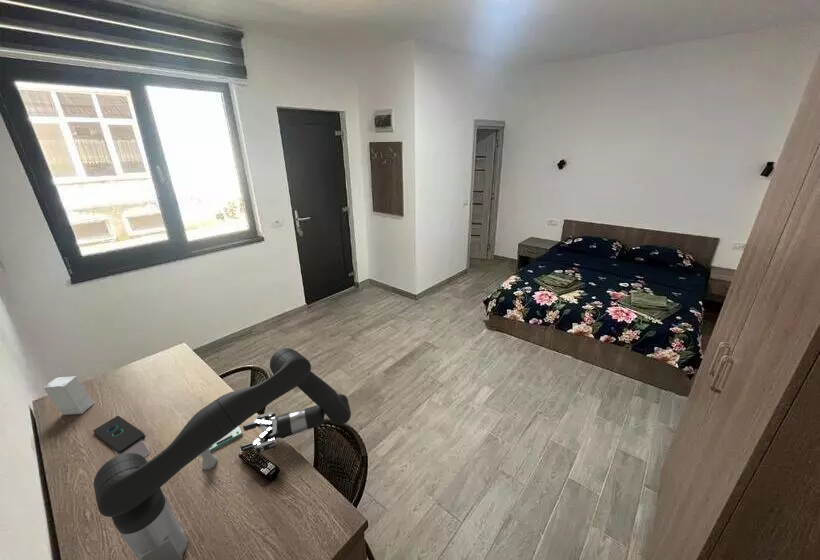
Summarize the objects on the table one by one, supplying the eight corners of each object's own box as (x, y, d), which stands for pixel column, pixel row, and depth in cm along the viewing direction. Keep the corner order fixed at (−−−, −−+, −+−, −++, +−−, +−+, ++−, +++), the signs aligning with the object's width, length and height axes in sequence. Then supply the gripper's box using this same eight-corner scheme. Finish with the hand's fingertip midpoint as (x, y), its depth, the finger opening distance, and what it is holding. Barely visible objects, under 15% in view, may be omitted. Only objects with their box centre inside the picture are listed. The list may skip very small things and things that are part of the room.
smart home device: (118, 414, 126) (145, 433, 117) (120, 418, 126) (147, 436, 118) (91, 430, 119) (118, 451, 110) (93, 434, 120) (120, 455, 111)
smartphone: (136, 431, 119) (150, 452, 111) (137, 433, 120) (151, 454, 111) (111, 446, 114) (124, 468, 105) (112, 447, 114) (125, 470, 106)
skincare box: (94, 403, 133) (78, 375, 127) (81, 415, 128) (64, 386, 122) (74, 404, 133) (57, 376, 127) (60, 415, 128) (41, 387, 122)
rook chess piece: (214, 455, 109) (207, 439, 106) (220, 463, 107) (213, 446, 104) (200, 465, 106) (192, 448, 103) (205, 473, 104) (198, 456, 100)
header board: (242, 434, 117) (241, 430, 116) (208, 453, 110) (206, 448, 110) (230, 406, 129) (228, 402, 129) (199, 421, 123) (197, 417, 122)
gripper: (290, 400, 117) (241, 414, 112) (291, 431, 105) (237, 448, 100) (294, 415, 120) (246, 429, 115) (295, 447, 108) (243, 464, 103)
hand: (242, 438), depth 107 cm, fingers open, 8 cm apart
